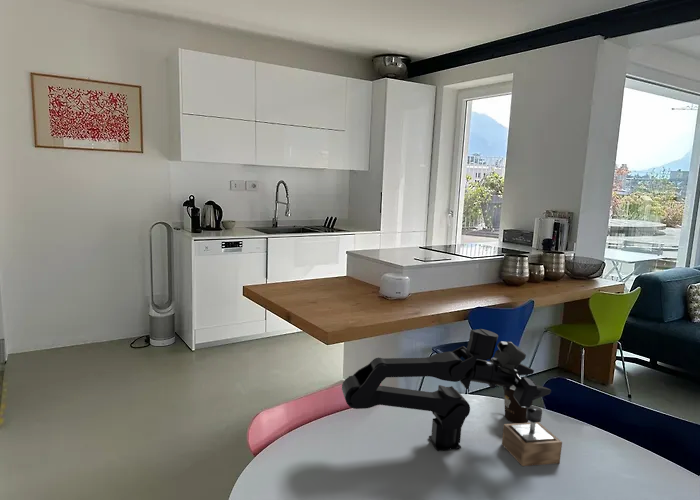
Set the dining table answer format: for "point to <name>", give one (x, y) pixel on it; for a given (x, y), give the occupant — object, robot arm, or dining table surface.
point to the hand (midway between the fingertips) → (541, 381)
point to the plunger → (532, 427)
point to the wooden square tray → (531, 447)
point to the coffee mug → (514, 407)
